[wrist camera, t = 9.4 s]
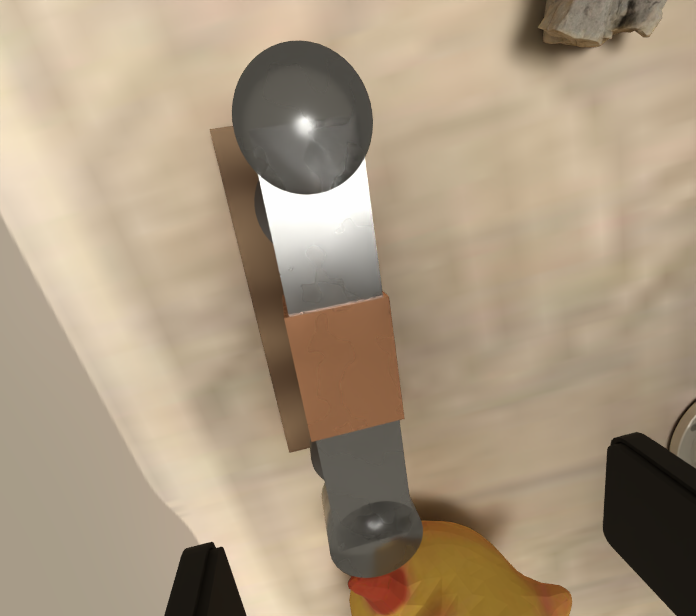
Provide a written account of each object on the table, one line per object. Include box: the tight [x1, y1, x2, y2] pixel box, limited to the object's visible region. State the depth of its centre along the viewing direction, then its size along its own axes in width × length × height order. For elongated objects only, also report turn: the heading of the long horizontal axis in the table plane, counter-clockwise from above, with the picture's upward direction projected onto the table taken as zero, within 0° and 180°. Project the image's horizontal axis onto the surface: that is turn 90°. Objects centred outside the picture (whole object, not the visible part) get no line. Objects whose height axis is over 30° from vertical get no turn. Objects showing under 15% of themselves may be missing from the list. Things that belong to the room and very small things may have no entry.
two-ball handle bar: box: [232, 41, 423, 578], centre depth 18 cm, size 25×5×4 cm, turn 9°
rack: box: [210, 126, 324, 479], centre depth 25 cm, size 24×9×10 cm, turn 9°
